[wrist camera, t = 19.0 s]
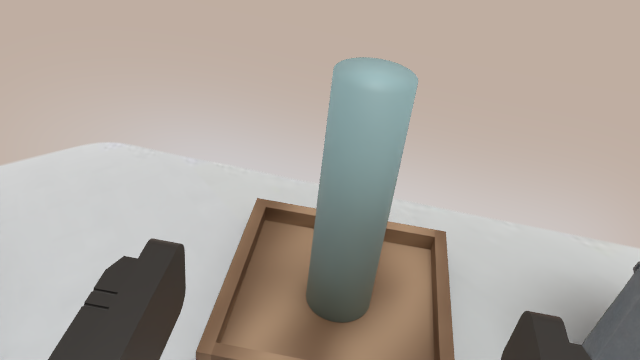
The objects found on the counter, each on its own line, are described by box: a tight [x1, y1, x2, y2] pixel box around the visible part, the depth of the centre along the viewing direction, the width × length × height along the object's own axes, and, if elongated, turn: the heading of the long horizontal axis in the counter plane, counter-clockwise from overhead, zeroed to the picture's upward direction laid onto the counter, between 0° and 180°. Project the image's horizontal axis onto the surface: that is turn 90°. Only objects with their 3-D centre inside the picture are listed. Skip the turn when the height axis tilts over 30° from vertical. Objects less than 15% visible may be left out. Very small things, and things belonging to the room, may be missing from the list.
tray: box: [196, 198, 454, 360], centre depth 35 cm, size 14×14×2 cm
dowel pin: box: [306, 57, 418, 322], centre depth 30 cm, size 4×4×15 cm
